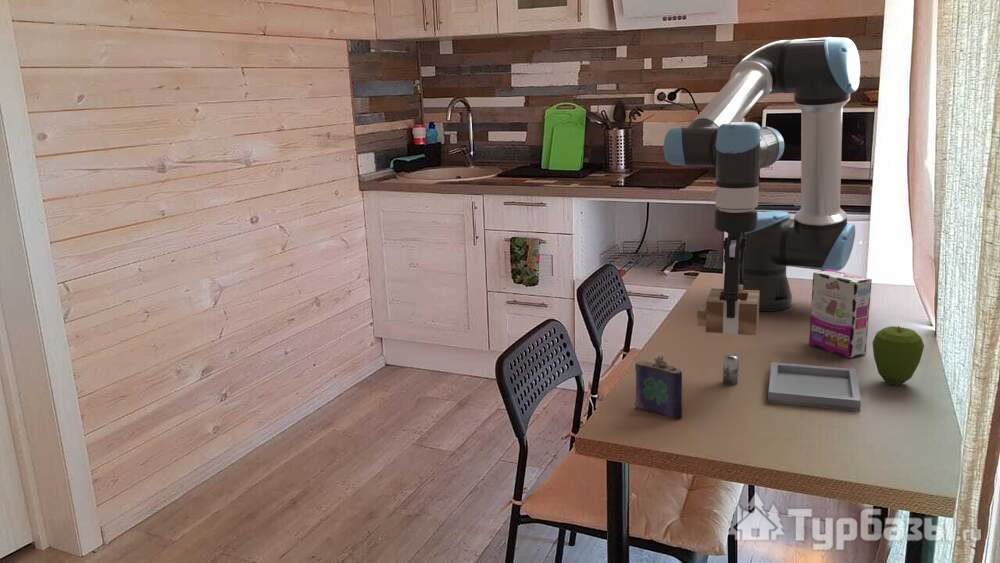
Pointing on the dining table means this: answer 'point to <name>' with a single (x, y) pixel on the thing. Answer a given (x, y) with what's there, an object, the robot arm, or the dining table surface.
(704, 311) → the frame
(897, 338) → the apple
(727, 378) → the silver capsule
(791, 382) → the tray
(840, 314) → the candy bar box
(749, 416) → the dining table surface
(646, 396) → the flask
